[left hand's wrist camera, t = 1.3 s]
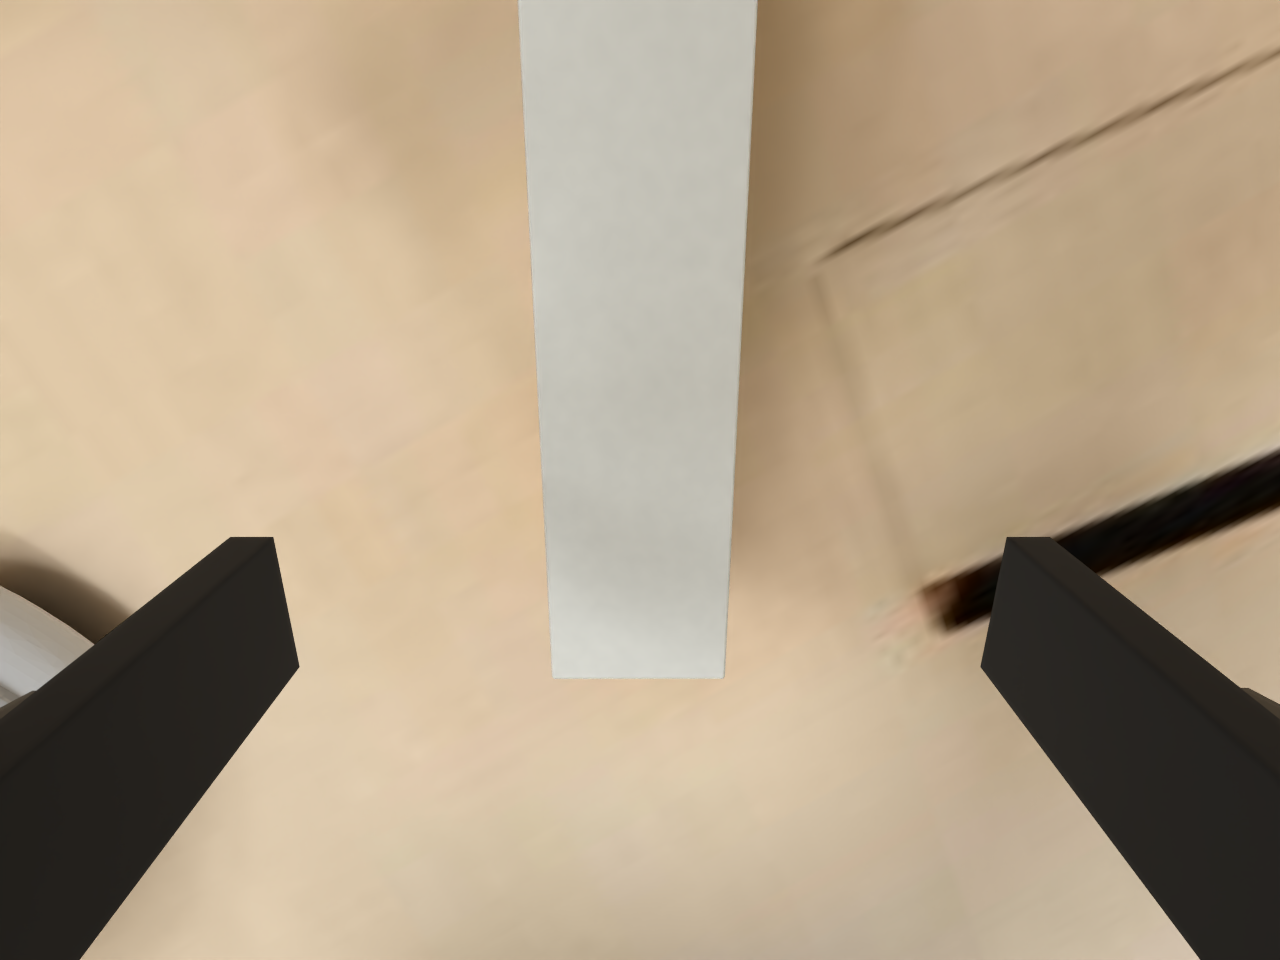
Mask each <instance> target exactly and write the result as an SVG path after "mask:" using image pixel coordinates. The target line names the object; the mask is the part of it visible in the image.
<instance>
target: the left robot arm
mask: <svg viewBox="0 0 1280 960" xmlns="http://www.w3.org/2000/svg"><path fill="white" fill-rule="evenodd" d="M298 668H299V662H298V657H297V652H296V647H295V642H294V637H293V632H292V627H291V623H290V618H289V613H288V608H287V603H286V598H285V593H284V588H283V583H282V578H281V573H280V568H279V563H278V558H277V553H276V548H275V543H274V538H273V537H230V538H229V539H227V540H226V541H225V542H224V543H222V544H221V545H220V546H219V547H217V548H216V549H215V550H213V551H212V552H211V553H210V554H208V555H207V556H206V557H205V558H203V559H202V560H201V561H200V562H198V563H197V564H196V565H194V566H193V567H192V568H191V569H189V570H188V571H187V572H186V573H184V574H183V575H182V576H181V577H179V578H178V579H177V580H176V581H174V582H173V583H172V584H170V585H169V586H168V587H167V588H165V589H164V590H163V591H162V592H160V593H159V594H158V595H157V596H155V597H154V598H153V599H151V600H150V601H149V602H148V603H146V604H145V605H144V606H143V607H141V608H140V609H139V610H138V611H136V612H135V613H134V614H133V615H131V616H130V617H129V618H127V619H126V620H125V621H124V622H122V623H121V624H120V625H119V626H117V627H116V628H115V629H114V630H112V631H111V632H110V633H109V634H107V635H106V636H105V637H103V638H102V639H101V640H100V641H98V642H97V643H96V644H95V645H93V646H92V647H91V648H90V649H88V650H87V651H86V652H84V653H83V654H82V655H81V656H79V657H78V658H77V659H76V660H74V661H73V662H72V663H71V664H69V665H68V666H67V667H66V668H64V669H63V670H62V671H60V672H59V673H58V674H57V675H55V676H54V677H53V678H52V679H50V680H49V681H48V682H47V683H45V684H44V685H43V686H41V687H40V688H39V689H38V690H36V691H31V692H29V693H27V694H25V695H23V696H21V697H19V698H17V699H15V700H14V701H12V702H10V703H8V704H6V705H4V706H2V707H0V960H80V959H81V957H82V956H83V955H84V953H85V952H86V951H87V949H88V948H89V947H90V945H91V944H92V943H93V941H94V940H95V939H96V937H97V936H98V935H99V933H100V932H101V931H102V929H103V928H104V927H105V925H106V924H107V923H108V921H109V920H110V919H111V917H112V916H113V915H114V913H115V912H116V911H117V909H118V908H119V907H120V905H121V904H122V903H123V901H124V900H125V899H126V897H127V896H128V895H129V893H130V892H131V891H132V889H133V888H134V887H135V885H136V884H137V883H138V881H139V880H140V879H141V877H142V876H143V875H144V873H145V872H146V871H147V869H148V868H149V867H150V865H151V864H152V863H153V861H154V860H155V859H156V857H157V856H158V855H159V853H160V852H161V851H162V849H163V848H164V847H165V845H166V844H167V843H168V841H169V840H170V839H171V837H172V836H173V835H174V833H175V832H176V831H177V829H178V828H179V827H180V825H181V824H182V823H183V821H184V820H185V819H186V817H187V816H188V815H189V813H190V812H191V811H192V809H193V808H194V807H195V805H196V804H197V803H198V801H199V800H200V799H201V797H202V796H203V795H204V793H205V792H206V791H207V789H208V788H209V787H210V785H211V784H212V783H213V781H214V780H215V779H216V777H217V776H218V775H219V773H220V772H221V771H222V769H223V768H224V767H225V765H226V764H227V763H228V761H229V760H230V759H231V757H232V756H233V755H234V753H235V752H236V751H237V749H238V748H239V747H240V745H241V744H242V743H243V741H244V740H245V739H246V737H247V736H248V735H249V733H250V732H251V731H252V729H253V728H254V727H255V725H256V724H257V723H258V721H259V720H260V719H261V717H262V716H263V715H264V713H265V712H266V711H267V709H268V708H269V707H270V705H271V704H272V703H273V701H274V700H275V699H276V697H277V696H278V695H279V693H280V692H281V691H282V689H283V688H284V687H285V685H286V684H287V683H288V681H289V680H290V679H291V677H292V676H293V675H294V673H295V672H296V671H297V669H298ZM981 668H982V669H983V671H984V672H985V673H986V675H987V676H988V677H989V679H990V680H991V681H992V683H993V684H994V685H995V687H996V688H997V689H998V691H999V692H1000V693H1001V695H1002V696H1003V697H1004V699H1005V700H1006V701H1007V703H1008V704H1009V705H1010V707H1011V708H1012V709H1013V711H1014V712H1015V713H1016V715H1017V716H1018V717H1019V719H1020V720H1021V721H1022V723H1023V724H1024V725H1025V727H1026V728H1027V729H1028V731H1029V732H1030V733H1031V735H1032V736H1033V737H1034V739H1035V740H1036V741H1037V743H1038V744H1039V745H1040V747H1041V748H1042V749H1043V751H1044V752H1045V753H1046V755H1047V756H1048V757H1049V759H1050V760H1051V761H1052V763H1053V764H1054V765H1055V767H1056V768H1057V769H1058V771H1059V772H1060V773H1061V775H1062V776H1063V777H1064V779H1065V780H1066V781H1067V783H1068V784H1069V785H1070V787H1071V788H1072V789H1073V791H1074V792H1075V793H1076V795H1077V796H1078V797H1079V799H1080V800H1081V801H1082V803H1083V804H1084V805H1085V807H1086V808H1087V809H1088V811H1089V812H1090V813H1091V815H1092V816H1093V817H1094V819H1095V820H1096V821H1097V823H1098V824H1099V825H1100V827H1101V828H1102V829H1103V831H1104V832H1105V833H1106V835H1107V836H1108V837H1109V839H1110V840H1111V841H1112V843H1113V844H1114V845H1115V847H1116V848H1117V849H1118V851H1119V852H1120V853H1121V855H1122V856H1123V857H1124V859H1125V860H1126V861H1127V863H1128V864H1129V865H1130V867H1131V868H1132V869H1133V871H1134V872H1135V873H1136V875H1137V876H1138V877H1139V879H1140V880H1141V881H1142V883H1143V884H1144V885H1145V887H1146V888H1147V889H1148V891H1149V892H1150V893H1151V895H1152V896H1153V897H1154V899H1155V900H1156V901H1157V903H1158V904H1159V905H1160V907H1161V908H1162V909H1163V911H1164V912H1165V913H1166V915H1167V916H1168V917H1169V919H1170V920H1171V921H1172V923H1173V924H1174V925H1175V927H1176V928H1177V929H1178V931H1179V932H1180V933H1181V935H1182V936H1183V937H1184V939H1185V940H1186V941H1187V943H1188V944H1189V945H1190V947H1191V948H1192V949H1193V951H1194V952H1195V953H1196V955H1197V956H1198V957H1199V959H1200V960H1280V704H1278V703H1276V702H1274V701H1272V700H1270V699H1268V698H1266V697H1265V696H1263V695H1261V694H1259V693H1257V692H1255V691H1253V690H1251V689H1249V688H1240V687H1239V686H1237V685H1236V684H1235V683H1233V682H1232V681H1231V680H1230V679H1228V678H1227V677H1226V676H1225V675H1223V674H1222V673H1221V672H1220V671H1218V670H1217V669H1216V668H1214V667H1213V666H1212V665H1211V664H1209V663H1208V662H1207V661H1206V660H1204V659H1203V658H1202V657H1201V656H1199V655H1198V654H1197V653H1196V652H1194V651H1193V650H1192V649H1190V648H1189V647H1188V646H1187V645H1185V644H1184V643H1183V642H1182V641H1180V640H1179V639H1178V638H1177V637H1175V636H1174V635H1173V634H1171V633H1170V632H1169V631H1168V630H1166V629H1165V628H1164V627H1163V626H1161V625H1160V624H1159V623H1158V622H1156V621H1155V620H1154V619H1153V618H1151V617H1150V616H1149V615H1147V614H1146V613H1145V612H1144V611H1142V610H1141V609H1140V608H1139V607H1137V606H1136V605H1135V604H1134V603H1132V602H1131V601H1130V600H1129V599H1127V598H1126V597H1125V596H1123V595H1122V594H1121V593H1120V592H1118V591H1117V590H1116V589H1115V588H1113V587H1112V586H1111V585H1110V584H1108V583H1107V582H1106V581H1104V580H1103V579H1102V578H1101V577H1099V576H1098V575H1097V574H1096V573H1094V572H1093V571H1092V570H1091V569H1089V568H1088V567H1087V566H1086V565H1084V564H1083V563H1082V562H1080V561H1079V560H1078V559H1077V558H1075V557H1074V556H1073V555H1072V554H1070V553H1069V552H1068V551H1067V550H1065V549H1064V548H1063V547H1061V546H1060V545H1059V544H1058V543H1056V542H1055V541H1054V540H1053V539H1051V538H1050V537H1007V538H1006V543H1005V548H1004V553H1003V558H1002V563H1001V568H1000V573H999V578H998V583H997V588H996V593H995V598H994V603H993V608H992V613H991V618H990V623H989V627H988V632H987V637H986V642H985V647H984V652H983V657H982V662H981Z"/></svg>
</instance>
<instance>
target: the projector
mask: <svg viewBox="0 0 1280 960" xmlns="http://www.w3.org/2000/svg"><path fill="white" fill-rule="evenodd" d="M93 645H94V644H93V643H92V642H90V641H89V640H88V639H86V638H85V637H84V636H82V635H81V634H79V633H78V632H77V631H75V630H74V629H73V628H71V627H70V626H68V625H67V624H65V623H63V622H62V621H60V620H59V619H57V618H56V617H54V616H52V615H51V614H49V613H48V612H46V611H45V610H43V609H42V608H40V607H38V606H36V605H35V604H33V603H31V602H30V601H28V600H26V599H24V598H23V597H21V596H19V595H17V594H15V593H13V592H11V591H9V590H7V589H5V588H4V587H2V586H0V707H2V706H4V705H6V704H8V703H10V702H12V701H14V700H15V699H17V698H19V697H21V696H23V695H25V694H27V693H29V692H31V691H36V690H38V689H39V688H40V687H41V686H43V685H44V684H45V683H47V682H48V681H49V680H50V679H52V678H53V677H54V676H55V675H57V674H58V673H59V672H60V671H62V670H63V669H64V668H66V667H67V666H68V665H69V664H71V663H72V662H73V661H74V660H76V659H77V658H78V657H79V656H81V655H82V654H83V653H84V652H86V651H87V650H88V649H90V648H91V647H92V646H93Z"/></svg>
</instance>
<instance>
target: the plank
mask: <svg viewBox="0 0 1280 960" xmlns="http://www.w3.org/2000/svg"><path fill="white" fill-rule="evenodd" d="M757 7H758V0H518V17H519V37H520V57H521V76H522V96H523V116H524V135H525V155H526V174H527V194H528V214H529V233H530V253H531V273H532V292H533V312H534V331H535V351H536V371H537V390H538V410H539V430H540V449H541V469H542V488H543V508H544V528H545V547H546V567H547V587H548V606H549V626H550V645H551V665H552V677H553V678H554V679H723V678H724V676H725V663H726V642H727V622H728V601H729V581H730V560H731V540H732V519H733V499H734V478H735V458H736V437H737V417H738V396H739V376H740V355H741V335H742V314H743V294H744V273H745V253H746V232H747V212H748V191H749V171H750V150H751V130H752V109H753V89H754V68H755V48H756V27H757Z"/></svg>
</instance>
